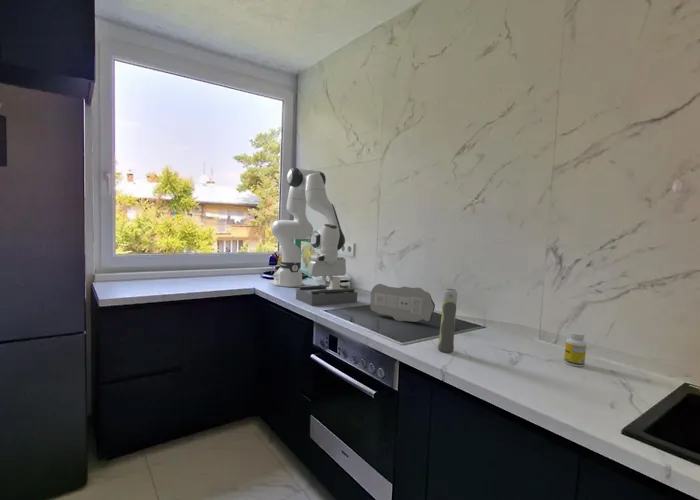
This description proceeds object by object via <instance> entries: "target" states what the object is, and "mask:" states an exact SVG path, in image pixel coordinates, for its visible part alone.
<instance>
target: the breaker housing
mask: <svg viewBox="0 0 700 500" xmlns="http://www.w3.org/2000/svg"><path fill="white" fill-rule="evenodd" d="M298 287H299V288H296V290H295V299H296V300H297V301H300V302H302V303H304V304H306V305H309V306H324V305H326V306H327V305H337V304H338V305H340V304H349V303H352V304H353V303H357V302H358V292H357V291H355V288H344V287H342V284H340V288H342V289H336V290H328V289H326V287H329V285H324V284H323V285H301V286H298Z"/></svg>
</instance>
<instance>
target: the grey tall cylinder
mask: <svg viewBox="0 0 700 500" xmlns="http://www.w3.org/2000/svg"><path fill="white" fill-rule="evenodd" d="M442 297H443V298H442V306H441V316H440V317H441V319H440V327H439V338H438V344H437V349H438V351H440V352H442V353H445V354H447V353H453V352H454V349H455V348H454V347H455V346H454V342H455V331H456V314H457V301H458V291H456V289H455V288H454V289H453V288H446V289H445V290H444V291H443V296H442Z"/></svg>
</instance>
